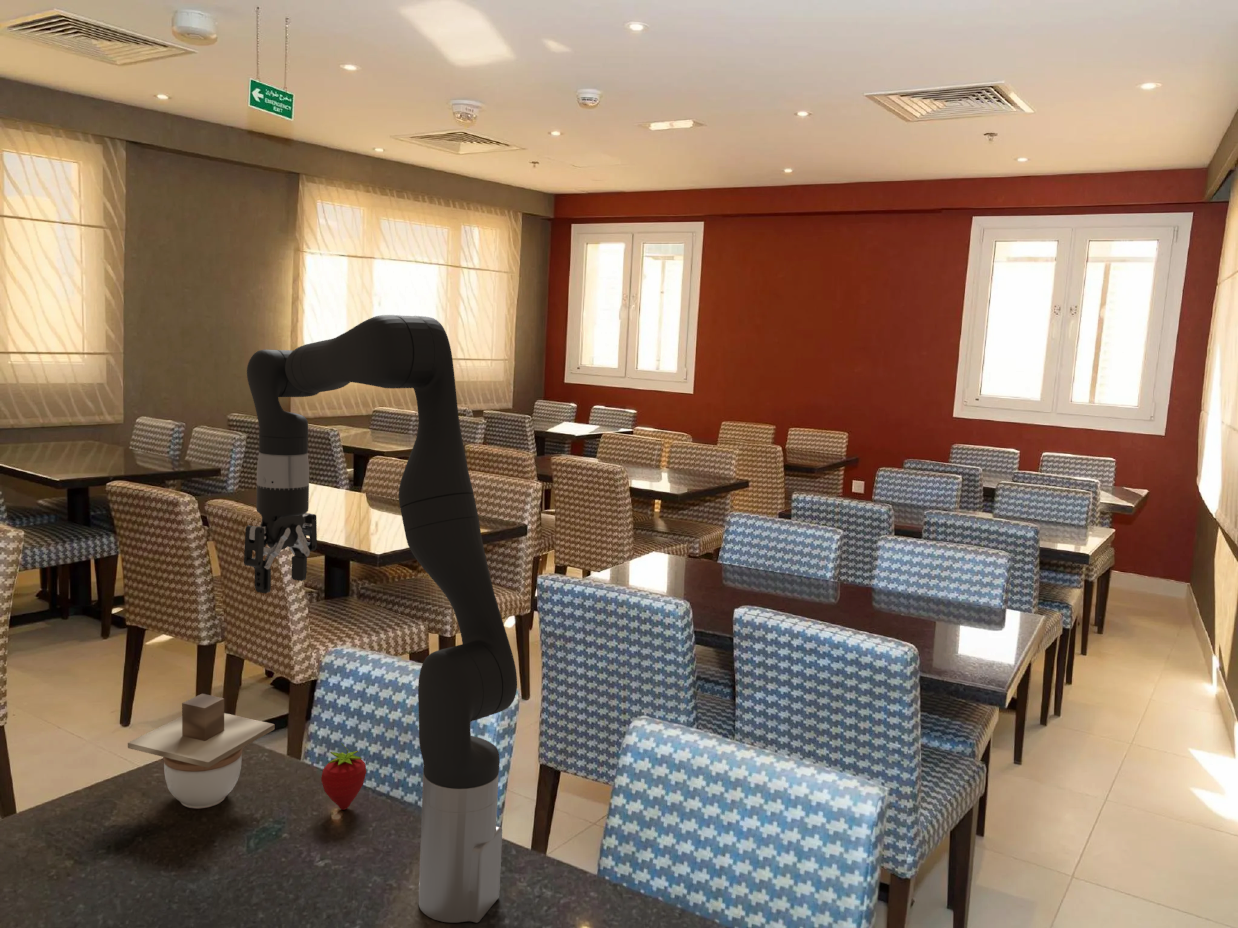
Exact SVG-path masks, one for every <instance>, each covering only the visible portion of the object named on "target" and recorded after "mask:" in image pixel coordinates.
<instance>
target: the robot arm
mask: <svg viewBox="0 0 1238 928" xmlns="http://www.w3.org/2000/svg"><path fill="white" fill-rule="evenodd" d="M454 368H455V367H454V360H453V353H452V348H451V344H450V340H449V337H448V335H447V332H446V330H445V328H444V326H443V325H442V324H441V323H440V322H439V321H438V320H437V319H436V318H433V317H431V316H430V317H429V316H423V315H421V316H420V315H400V314H399V315H398V314H397V315H395V314H382V315H376V316H373V317H369V318H368V319H366V320H364V321H362V322H360V323H359V324H356V325H355V326H353V327H352V328H350V329H349V330H347V331H345V332H343V333H342V334H340V335H338V336H336V337H333V338H331V339H330V338H329V339H325V340H319V341H315V342H311V343H306V344H304V345H301V346H299V347H297V348H295V349H293V350H291V349H290V350H288V349H260V350H259V349H258V351H255V352H254V353H253V354H252V355H251V356H250V359H249V361H248V363H247V367H246V378H247V383H248V387H249V389H250V393H251V396H252V397H251V398H252V399H253V400H252V401H253V404H254V407H255V408H254V409H255V412H256V417H257V421H258V429H259V430H258V458H257V463H256V464H257V465H256V503H255V504H256V511H257V513H258V514H259V515H260V516H261V522H260V525H256V526H255V525H249V524H248V525H247V526H246V527H245V532H244V533H245V534H244V554H243V564H244V566H247V567H248V566H249V567H252V568H253V569H254V589H255V591H256V592H257V593H261V594H268V593H270V592H271V591H272V590H271V589H272V586H271V585H272V568H271V566H272V564H273V561H274V559H275V558H276V557H278V556H279V555H280V553H281V551H282V550H285V549H286V548H289V550H290V552H291V553H292V554H293V556H291V579H292V580H293V581H299V582H302V581H304V580H306V579H307V573H308V557H309V556H310V555H311V554H310V553H311V552H312V551H316V550H317V548H318V535H317V533H318V531H317V530H318V528H317V527H318V526H317V523H318V522H317V514H315V513H311V512H310V513H309V507H310V506H309V503H310V501H309V500H310V499H309V497H310V493H309V492H310V463H309V454H308V453H309V422H308V419H307V418H306V417H305V416H304V415H302V414H299V413H296V412H290V411H286V410H284V409H283V406H282V405H281V404H280V400H279V398H306V397H314V396H317V395H318V394H319V393H323V392H330V391H336V390H339V389H342V388H344V387H346V386H347V385H349V384H350V383H355V384H361V385H366V386H372V387H378V388H382V389H413V391H414V394H415V399H416V404H417V418H418V427H417V433H416V437H415V440H414V443H413V447H412V449H411V452H410V454H409V458H408V459H407V462H406V464H405V467H404V469H403V473H402V476H401V480H400V483H399V488H398V502H399V507H400V515H401V518H402V524H403V529H404V533H405V539H406V543H407V545H408V548H409V551H410V552H411V553H412V554H413V555H412V556H414V558H415V559H416V561H417V562H418V563H419V565H420V567H422V569H423V570H424V571H425V573H426V574H427V575H428V576H429V577H430V578H431V579H432V581H433V582H434V583H435V584H436V585H437V586H438V588H439V589H440V590H441V591H442V593H443V594H444V595H445V597H446V598H447V600H448V602H449V604H450V606H451V607H452V609H453V612H454V614H455V617H456V621H457V624H458V627H459V631H460V632H459V633H460V636H461V643H462V644H459V645H453V646H450V647H447V648H441V649H439V650H436V651H433V652H431V653H429V655H427V656H426V657H425V658H424V660H423V663H422V664H421V668H420V671H419V677H418V685H417V686H418V687H417V688H418V689H417V695H418V696H417V699H418V741H419V742H418V743H419V748H420V753H421V757H422V762H423V768H422V769H423V771H422V772H423V773H422V797H421V799H422V800H421V822H420V823H421V824H420V825H421V826H420V846H419V847H420V850H419V851H420V852H419V880H418V907H419V909H420V911H421V912H422V913H423V914H424V915H425V916H427V917H428V918H430V919H432V920H435V921H439V922H442V923H443V922H444V923H464V922H473V923H479V922H480V921H481V920H482V918H484V917H485V916H486V914H487V913H488V911H489V910H490V909H491V907H492V906H493V905H494V904H495V903H496V901H497V900H498V899H499V898H500V887H501V886H500V885H501V865H502V864H501V863H502V846H503V845H502V844H503V843H502V842H503V828H502V827H501V826H498V825H497V817H498V816H497V815H498V796H499V795H498V794H499V778H500V777H499V773H500V752H499V749H498V748H497V746H495V745H494V743H492V742H490V741H488V740H486V739H484V738H481V737H478V736H473V735H472V733H471V722H474V721H477V720H480V719H484V718H486V717H489V716H491V715H492V716H493V715H495V714H499V713H501V712H503V711H505V710H507V709H509V707H510V706H512V704H513V703H514V701H515V698H516V696H517V690H518V677H517V668H516V662H515V658H514V655H513V651H512V648H511V644H510V641H509V638H508V634H507V631H506V628H505V627H506V626H505V624H504V621H503V618H502V614H501V611H500V609H499V604H498V601H497V598H496V595H495V591H494V586H493V582H492V577H491V574H490V569H489V565H488V561H487V557H486V551H485V548H484V543H483V542H484V541H483V538H482V532H481V525H480V518H479V514H478V508H477V504H476V499H475V495H474V489H473V485H472V481H471V478H470V474H469V469H468V463H467V458H466V452H465V447H464V442H463V437H462V429H461V423H460V415H459V409H458V408H459V407H458V399H457V388H456V378H455V371H454ZM307 537H309V542H308V540H307ZM266 546H268V547H266ZM253 552H255V555H254V557H253ZM264 556H266V557H265V559H264Z"/></svg>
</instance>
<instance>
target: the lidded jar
mask: <svg viewBox="0 0 1238 928" xmlns="http://www.w3.org/2000/svg"><path fill="white" fill-rule="evenodd" d="M243 749H244V747H243V748H242V749H240V750H238V751H236V752H235V753H233V754H231V755H229V756H228V757H226V758H224V759H223V760H221V761H219V762H217V763H216V764H214V765H212V766H211V767H209V768H207V767H203V766H199V765H194V764H190V763H186V762H182V761H178V760H174V759H170V758H166V757H162V758H163V769H164V779H165V782H166V787H167V789H168V791H169V793H170V794H171V795H172V796H173V797H174V799H176V800H177V801H179V802H180V804H181V805H182V806H184V807H185V808H189V809H206V808H211V807H214V806H216V805H219V804H221V802H223V801H224V800H225V799H226V797H227V796H228V795H229V794H230V792H232V791H233V789H234V788H235V786H236V785H237V783H238V780H239V777H240V774H241V770H242V769H241V768H242V762H243V761H242V756H243Z"/></svg>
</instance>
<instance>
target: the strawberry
mask: <svg viewBox="0 0 1238 928" xmlns="http://www.w3.org/2000/svg"><path fill="white" fill-rule="evenodd" d="M340 744H341V745H342V746H343V747H344V748H345V750H347V752H346V753H345V752H335V751H329V752H330V754H331V755H332V756H334V757H335V758H334V759H332V760H330V761H329V762H328V763H327V764H326V765H325V766H324V768H323V769H322V774H321V777H320V778H321V779H320V780H321V785H322V787H323V790H324V793H325V794H326V795H327V797H329V798H330V800H331V801H332V802H333V803H334V804H335V805H337V806H338V808H339V809H340V810H347V809H348V808H349V807H350V806H351V803H352V802H353V801H354V799H356V797H357V795H358V794H359V792H360V791H361V789H362V787H363V786H364V782H365V779H366V775H367V767H366V762H365V761H364V760H363V759H364V758H363V757H361V756H357V755H355V754H357V753H359V750H356V751H350V752H349V749H348V748H347V747H346V745H344V744H343V743H342V742H340Z"/></svg>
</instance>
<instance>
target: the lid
mask: <svg viewBox="0 0 1238 928" xmlns="http://www.w3.org/2000/svg"><path fill="white" fill-rule="evenodd" d="M181 712H182V713H181V716H179V717H177V718H175V719H173V720H171V721H168V722H167V723H165V724H163V725H161V726H158V727H157V728H155V729H153V730H151V731H149V732H146V733H145V734H143V735H142V734H141V735H140V736H138V737H136V738H134V739H133V740H130V741H128V742H127V749H130V750H134V751H137V752H138V751H139V752H142V753H147V754H149V755H154V756H158V757H162V758H163V757H166V758H170V759H174V760H178V761H182V762H186V763H190V764H194V765H199V766H203V767H207V768H209V767H211V766H212V765H214V764H216V763H217V762H219V761H221V760H223V759H224V758H226V757H228V756H229V755H231V754H233V753H235V752H236V751H238V750H240V749H242V748H243V749H244V748H245V747H246V746H249V745H250V744H252V743H254V742H255V741H257V740H259V739H261V738H262V737H264V736H265V735H267V734H269V733H271V732H273V731H274V730H275V727H276V726H275V724H274V723H271V722H267V721H261V720H257V719H256V720H255V719H252V718H248V717H243V716H240V715H236V714H230V713H226V712H225V698H223V697H218V696H215V695H210V694H206V693H201V694H198V695H196V696H194V697H192V698H190V699H188V700H186V701H184V702H182V703H181Z"/></svg>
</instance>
